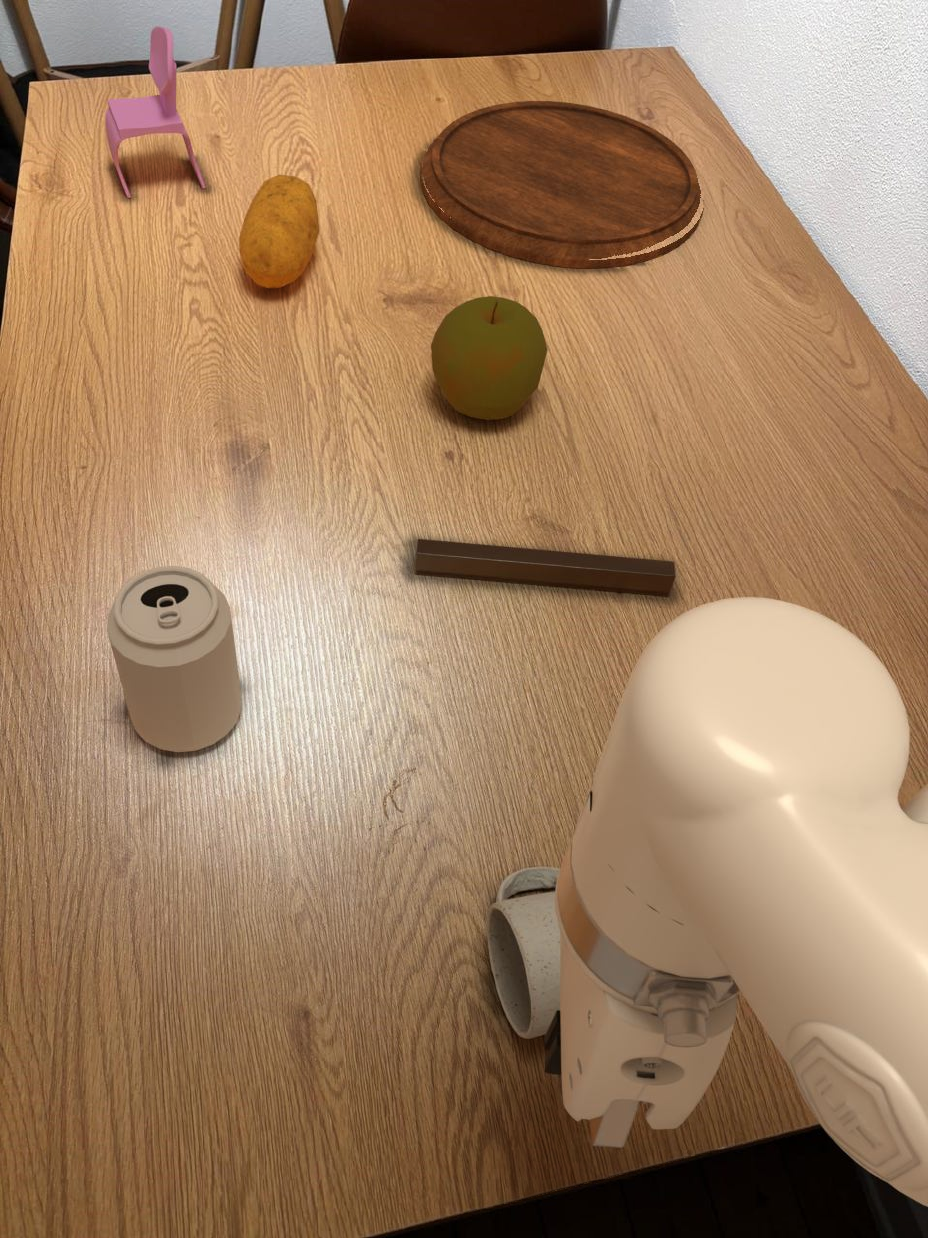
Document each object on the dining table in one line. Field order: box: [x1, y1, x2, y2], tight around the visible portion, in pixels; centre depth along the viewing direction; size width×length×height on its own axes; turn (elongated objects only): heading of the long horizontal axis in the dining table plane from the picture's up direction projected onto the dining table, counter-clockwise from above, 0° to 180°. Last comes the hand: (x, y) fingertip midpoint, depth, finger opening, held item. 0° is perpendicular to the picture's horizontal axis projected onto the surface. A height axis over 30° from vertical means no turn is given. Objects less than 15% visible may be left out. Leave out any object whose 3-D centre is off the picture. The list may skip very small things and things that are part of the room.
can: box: [106, 565, 243, 753], centre depth 72 cm, size 8×8×12 cm
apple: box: [430, 295, 548, 421], centre depth 96 cm, size 10×10×11 cm
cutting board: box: [419, 100, 705, 269], centre depth 124 cm, size 32×32×2 cm
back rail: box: [414, 538, 677, 597], centre depth 87 cm, size 3×20×2 cm, turn 87°
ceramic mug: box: [486, 866, 560, 1040], centre depth 65 cm, size 11×8×8 cm
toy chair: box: [105, 26, 207, 199], centre depth 114 cm, size 8×9×15 cm
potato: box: [238, 174, 320, 289], centre depth 108 cm, size 7×14×7 cm, turn 174°
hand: (577, 1058), depth 52 cm, fingers closed
